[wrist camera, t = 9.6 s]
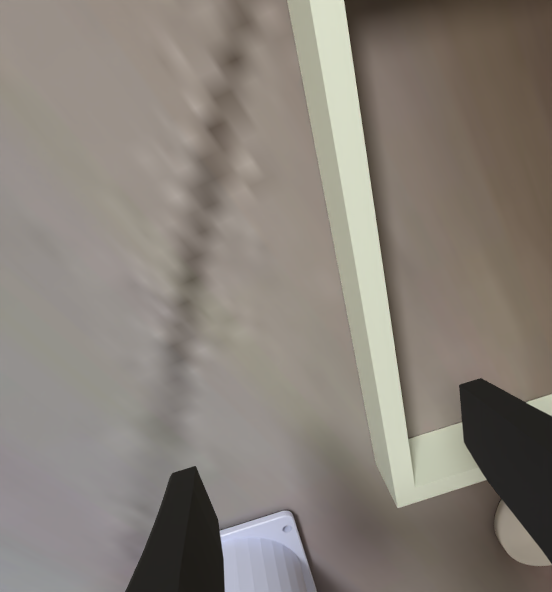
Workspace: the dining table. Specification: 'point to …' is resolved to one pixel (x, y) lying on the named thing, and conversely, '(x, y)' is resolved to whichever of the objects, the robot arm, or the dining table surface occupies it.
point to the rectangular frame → (368, 264)
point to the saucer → (517, 538)
